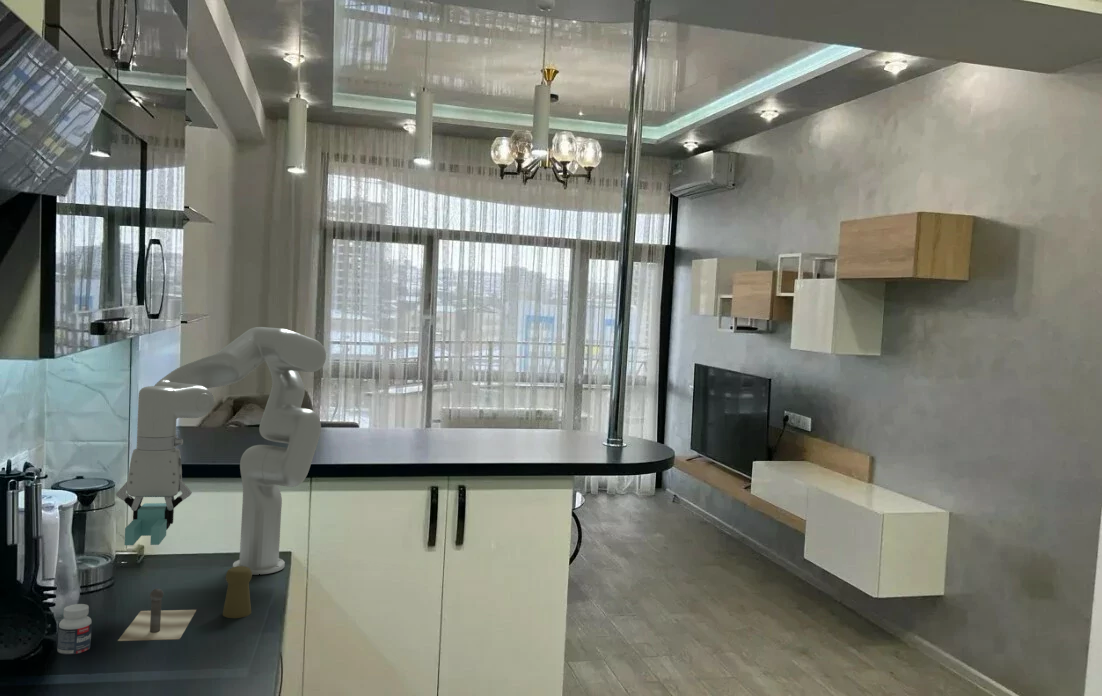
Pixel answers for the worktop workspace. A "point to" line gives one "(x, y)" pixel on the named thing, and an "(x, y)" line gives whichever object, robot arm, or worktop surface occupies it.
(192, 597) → the worktop surface
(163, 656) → the worktop surface
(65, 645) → the pill bottle
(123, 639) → the stand
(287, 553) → the worktop surface
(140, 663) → the worktop surface
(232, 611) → the cork
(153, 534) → the link
